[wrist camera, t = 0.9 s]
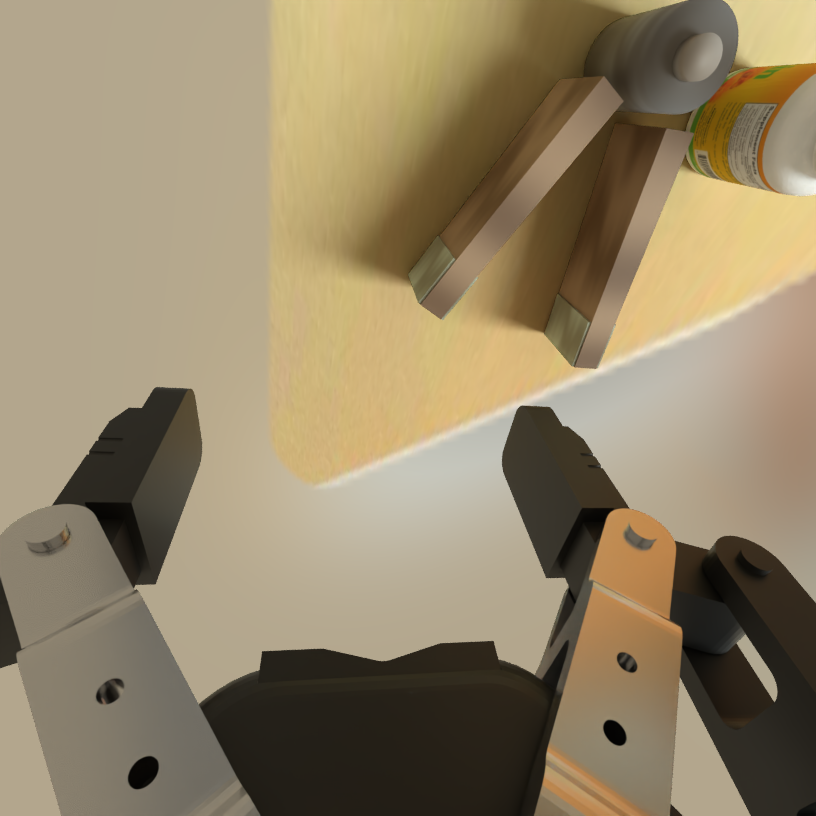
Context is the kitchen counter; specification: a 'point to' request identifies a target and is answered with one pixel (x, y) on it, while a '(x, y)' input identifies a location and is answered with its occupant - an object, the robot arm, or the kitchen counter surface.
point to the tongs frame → (637, 158)
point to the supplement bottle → (759, 130)
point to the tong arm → (512, 189)
